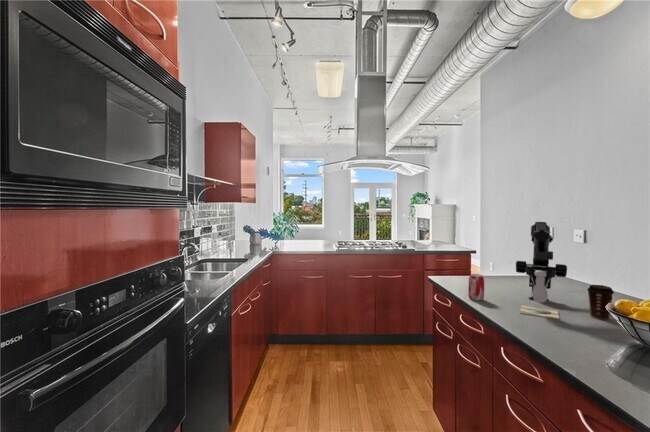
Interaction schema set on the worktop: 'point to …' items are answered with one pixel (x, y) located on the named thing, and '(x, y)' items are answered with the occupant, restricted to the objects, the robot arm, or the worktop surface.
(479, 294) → the soda can
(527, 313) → the board
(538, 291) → the salt shaker
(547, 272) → the robot arm
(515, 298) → the worktop surface
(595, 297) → the coffee cup
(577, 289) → the worktop surface
